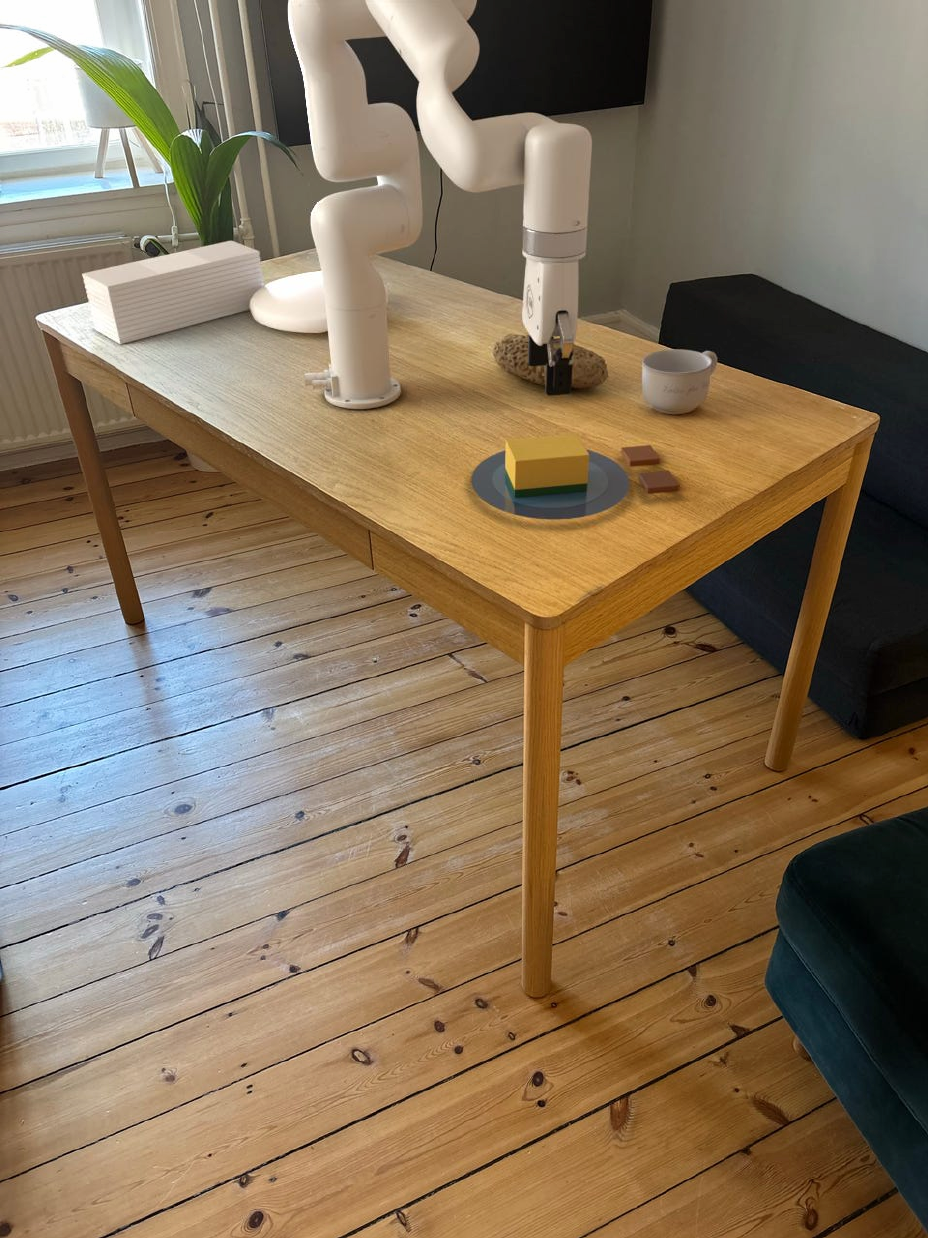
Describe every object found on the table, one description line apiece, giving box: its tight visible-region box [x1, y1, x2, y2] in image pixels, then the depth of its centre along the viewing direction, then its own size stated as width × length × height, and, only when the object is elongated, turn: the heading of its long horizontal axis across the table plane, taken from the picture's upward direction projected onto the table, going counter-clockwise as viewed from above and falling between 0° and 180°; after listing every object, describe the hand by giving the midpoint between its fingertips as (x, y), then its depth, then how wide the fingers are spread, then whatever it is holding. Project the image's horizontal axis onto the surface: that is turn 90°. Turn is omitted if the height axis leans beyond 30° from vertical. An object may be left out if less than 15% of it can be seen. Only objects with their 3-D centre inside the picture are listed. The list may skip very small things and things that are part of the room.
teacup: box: [641, 348, 718, 415], centre depth 156 cm, size 14×11×8 cm
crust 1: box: [620, 444, 661, 467], centre depth 141 cm, size 4×4×2 cm
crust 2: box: [637, 470, 680, 494], centre depth 135 cm, size 4×4×2 cm
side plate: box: [470, 449, 631, 521], centre depth 136 cm, size 22×22×1 cm
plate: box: [249, 270, 390, 334], centre depth 194 cm, size 28×6×27 cm
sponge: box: [492, 333, 609, 389], centre depth 165 cm, size 13×8×20 cm
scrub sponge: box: [505, 433, 589, 498], centre depth 133 cm, size 10×6×6 cm, turn 99°
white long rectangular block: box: [81, 240, 265, 345], centre depth 192 cm, size 32×11×11 cm, turn 132°
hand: (548, 378), depth 126 cm, fingers open, 9 cm apart
